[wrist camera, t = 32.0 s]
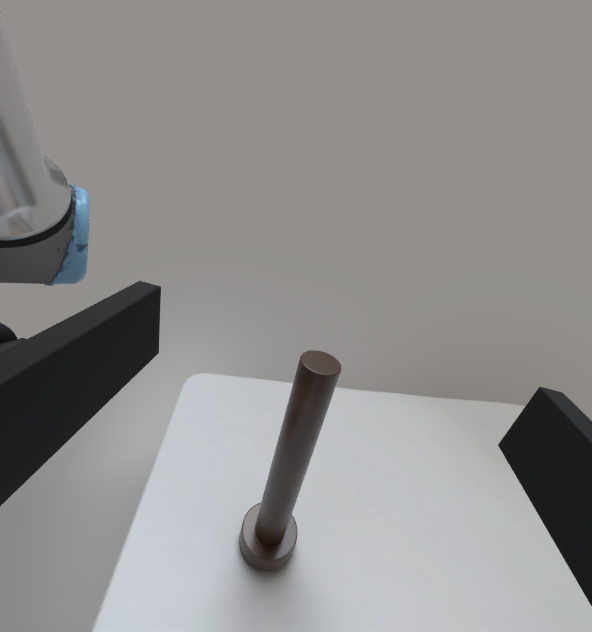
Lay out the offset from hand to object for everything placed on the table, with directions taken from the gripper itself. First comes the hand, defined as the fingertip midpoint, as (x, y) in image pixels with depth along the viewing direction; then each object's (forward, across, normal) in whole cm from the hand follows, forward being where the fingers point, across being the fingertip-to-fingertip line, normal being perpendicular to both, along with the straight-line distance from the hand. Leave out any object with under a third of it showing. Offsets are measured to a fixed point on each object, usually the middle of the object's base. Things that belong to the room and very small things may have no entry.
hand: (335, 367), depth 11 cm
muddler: (+6, 0, -21) cm, 22 cm away
